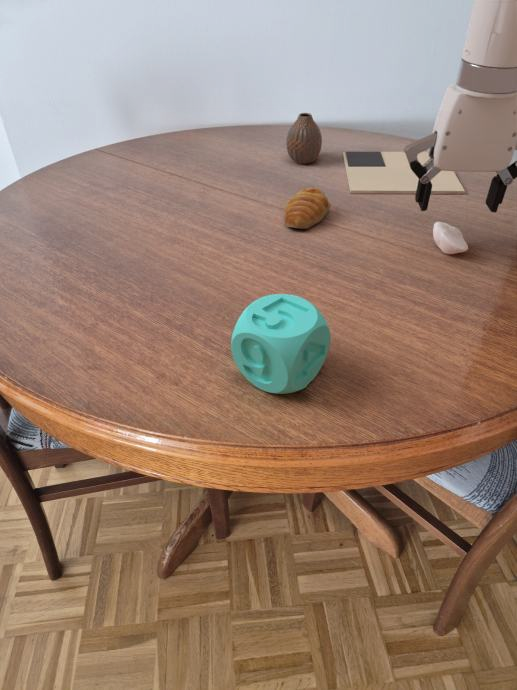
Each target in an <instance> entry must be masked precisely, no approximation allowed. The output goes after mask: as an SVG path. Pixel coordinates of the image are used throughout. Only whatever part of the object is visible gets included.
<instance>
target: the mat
mask: <svg viewBox="0 0 517 690" xmlns="http://www.w3.org/2000/svg"><path fill="white" fill-rule="evenodd" d="M417 158H418V161H419V162H420V164H421V165H423V164H424V163H426V162H427V161H428V160H429V159H430V157H429V155H428V151H423V152H421V153H419V154H418V155H417ZM342 159H343V163H344V164H343V165H344V168H345V169H344V170H345V173H346V178H347V184H348V189H349V193H350V194H353V195H354V194H355V195H357V194H358V195H359V194H361V195H362V194H363V195H364V194H367V195H368V194H370V195H371V194H373V195H375V194H376V195H377V194H380V195H381V194H382V195H383V194H384V195H386V194H387V195H392V194H393V195H397V194H398V195H416V190H417V185H418V181H419V178H418V177H417V176H416V175H415V173H414V172H413V171H412V170H411V168H410V165H409V163H408V160H407V157H406V154H405V151H342ZM431 183H432V190H431V194H430V195H465V193H466V190H465V189H464V187H463V185H462V183H461V181H460V180H459V178H458V176H457V174H456V172H455V171H442V170H441V171H440V172H439V173H438V174H437V175H436V176H435V177H434V178H432V179H431Z"/></svg>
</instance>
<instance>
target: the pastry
mask: <svg viewBox="0 0 517 690" xmlns="http://www.w3.org/2000/svg"><path fill="white" fill-rule="evenodd" d="M331 207H332V205H331V202H330V201H329V199H328V197H327V196H326V194H325V192H324V191H323V190H321V189H320V188H316V187H307V188H302V189H301V190H299V191H297V193H296V194H295V195H293V196H292V197H291V198H290V199H289V200H288V202H287V204H286V206H285V209H284V223H285V226H286V227H287V228H294V229H299V230H301V229H302V230H305V229H306V230H307V229H310V228H311V227H312V226H315V225H317V224H319V223H320V222H321V221H322V220H323V219H324V218H325V217H326V216H327V215H328V212H329V211H330V209H331Z"/></svg>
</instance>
